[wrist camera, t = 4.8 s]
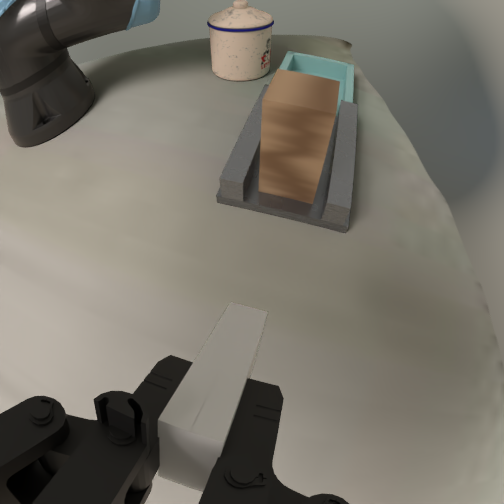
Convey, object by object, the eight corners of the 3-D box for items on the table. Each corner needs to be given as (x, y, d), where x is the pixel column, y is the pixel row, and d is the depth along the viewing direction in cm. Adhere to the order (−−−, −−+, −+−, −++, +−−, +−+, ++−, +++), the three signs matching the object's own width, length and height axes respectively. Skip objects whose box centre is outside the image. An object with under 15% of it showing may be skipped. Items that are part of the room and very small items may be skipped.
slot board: (217, 202, 28) (214, 177, 25) (260, 106, 36) (261, 83, 33) (345, 233, 27) (356, 210, 24) (355, 127, 34) (361, 105, 31)
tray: (268, 108, 36) (269, 88, 33) (286, 67, 42) (288, 51, 39) (347, 125, 35) (352, 106, 32) (350, 80, 40) (354, 64, 38)
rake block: (258, 191, 28) (262, 99, 19) (271, 154, 30) (277, 68, 21) (312, 204, 27) (336, 114, 19) (319, 166, 30) (340, 81, 21)
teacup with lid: (275, 81, 39) (280, 9, 29) (211, 85, 39) (205, 11, 28) (263, 49, 45) (266, -10, 35) (210, 52, 44) (206, -7, 34)
